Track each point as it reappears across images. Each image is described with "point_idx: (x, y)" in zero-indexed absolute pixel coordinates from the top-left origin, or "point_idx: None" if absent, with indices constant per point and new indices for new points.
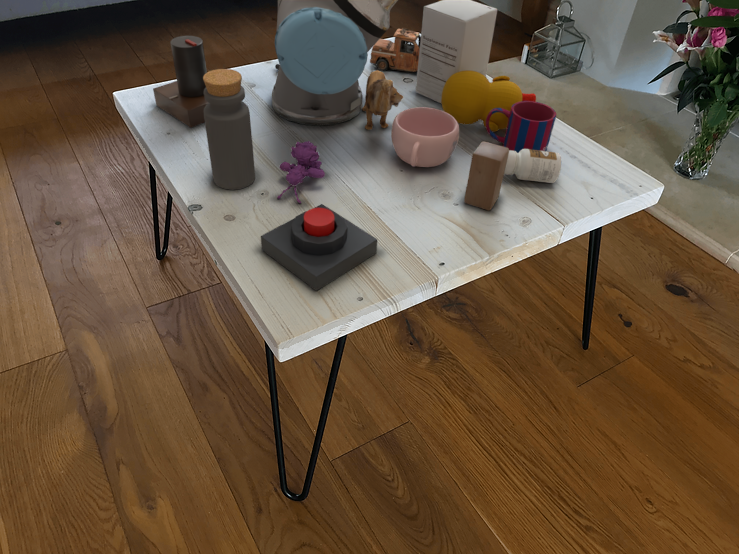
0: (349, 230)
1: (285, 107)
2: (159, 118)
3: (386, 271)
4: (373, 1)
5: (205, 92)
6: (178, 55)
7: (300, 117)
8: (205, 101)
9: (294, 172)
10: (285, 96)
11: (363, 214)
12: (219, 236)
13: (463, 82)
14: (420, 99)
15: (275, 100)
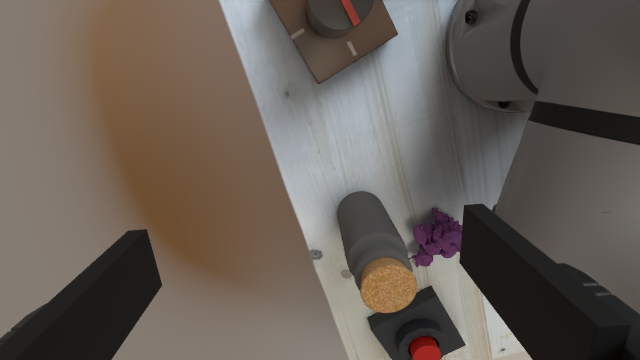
0: (447, 333)
1: (463, 82)
2: (272, 42)
3: (457, 350)
4: None
5: (357, 281)
6: (319, 25)
7: (475, 101)
8: (347, 56)
9: (426, 262)
10: (473, 76)
11: (470, 286)
12: (334, 296)
13: None
14: None
15: (455, 55)
